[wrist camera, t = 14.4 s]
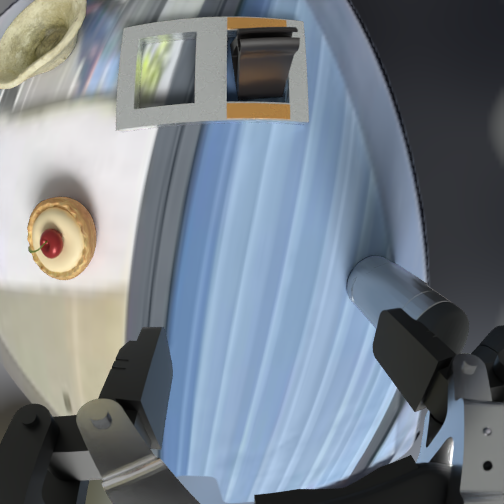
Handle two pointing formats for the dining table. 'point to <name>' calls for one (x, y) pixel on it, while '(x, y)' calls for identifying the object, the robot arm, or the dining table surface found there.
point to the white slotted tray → (206, 76)
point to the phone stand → (263, 60)
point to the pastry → (61, 237)
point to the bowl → (39, 39)
